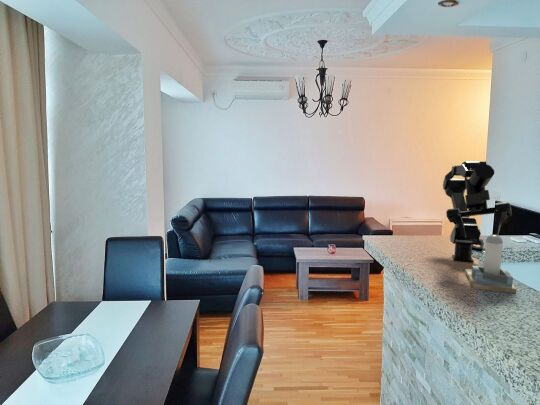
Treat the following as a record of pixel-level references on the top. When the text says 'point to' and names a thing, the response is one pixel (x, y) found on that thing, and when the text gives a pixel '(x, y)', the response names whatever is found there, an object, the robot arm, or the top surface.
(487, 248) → the cylinder
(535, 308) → the top surface
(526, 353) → the top surface
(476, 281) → the jig
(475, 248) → the build plate
